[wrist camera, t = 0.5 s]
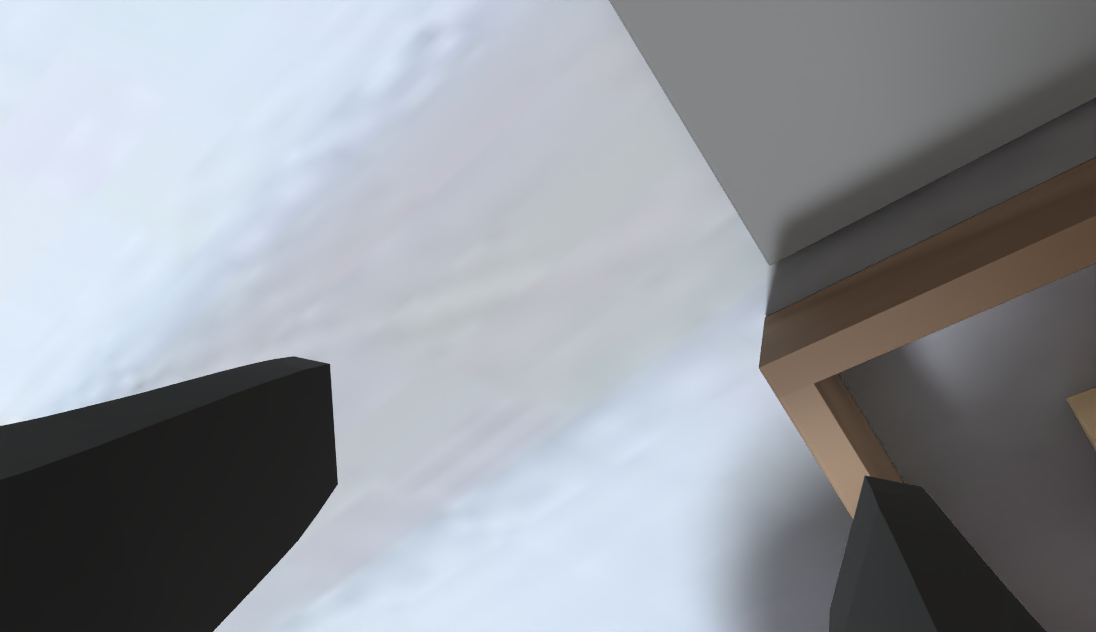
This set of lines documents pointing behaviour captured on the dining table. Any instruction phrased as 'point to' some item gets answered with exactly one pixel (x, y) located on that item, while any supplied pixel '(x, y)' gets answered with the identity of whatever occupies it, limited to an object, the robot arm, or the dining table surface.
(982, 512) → the dining table surface
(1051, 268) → the frame box
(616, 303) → the dining table surface
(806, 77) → the mat
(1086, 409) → the oak block
